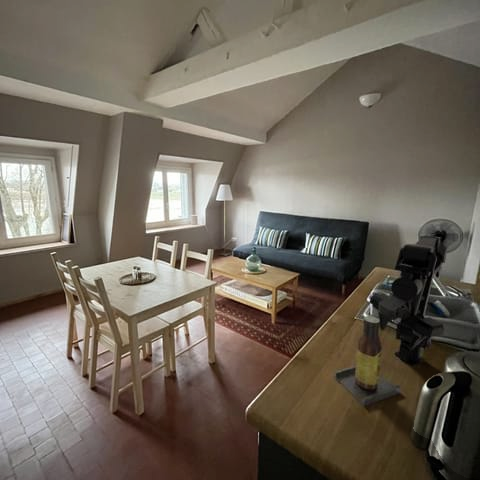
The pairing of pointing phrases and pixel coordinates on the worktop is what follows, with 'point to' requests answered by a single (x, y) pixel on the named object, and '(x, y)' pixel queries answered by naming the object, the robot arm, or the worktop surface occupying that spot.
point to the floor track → (362, 394)
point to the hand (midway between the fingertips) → (396, 339)
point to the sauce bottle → (369, 355)
